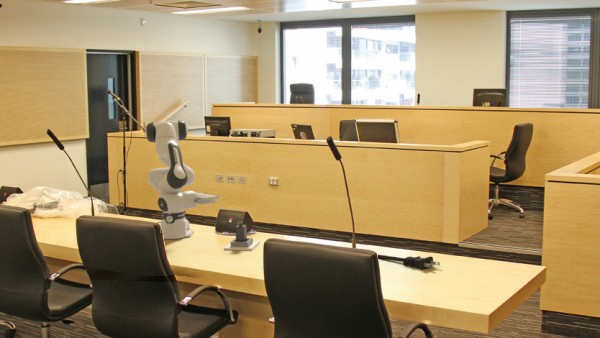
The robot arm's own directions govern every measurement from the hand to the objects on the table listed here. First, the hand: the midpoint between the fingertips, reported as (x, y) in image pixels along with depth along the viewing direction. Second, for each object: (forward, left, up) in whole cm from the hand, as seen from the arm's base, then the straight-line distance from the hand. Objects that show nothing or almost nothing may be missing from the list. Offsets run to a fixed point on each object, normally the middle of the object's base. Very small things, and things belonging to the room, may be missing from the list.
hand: (212, 195), depth 371 cm
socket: (-11, +11, -29) cm, 33 cm away
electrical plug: (+13, +94, -29) cm, 100 cm away
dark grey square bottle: (-11, +11, -28) cm, 32 cm away
